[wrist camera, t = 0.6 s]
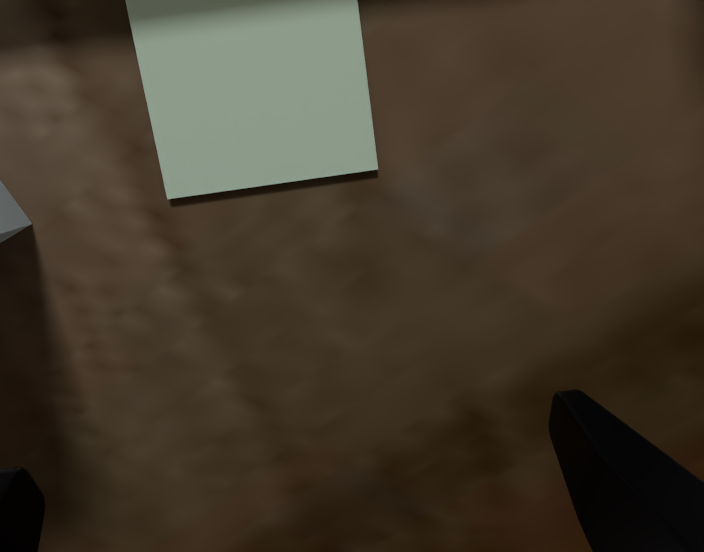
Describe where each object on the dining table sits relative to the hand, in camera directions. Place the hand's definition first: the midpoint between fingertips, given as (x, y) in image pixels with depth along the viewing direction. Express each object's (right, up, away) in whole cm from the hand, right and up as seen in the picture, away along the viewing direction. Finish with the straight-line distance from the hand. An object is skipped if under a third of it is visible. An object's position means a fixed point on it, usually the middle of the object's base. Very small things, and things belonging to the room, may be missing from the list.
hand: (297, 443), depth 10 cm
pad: (-3, +10, +11) cm, 15 cm away
